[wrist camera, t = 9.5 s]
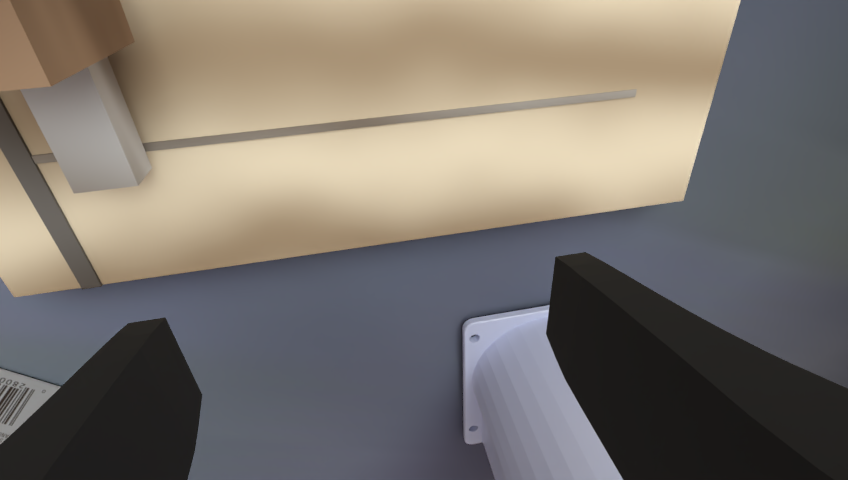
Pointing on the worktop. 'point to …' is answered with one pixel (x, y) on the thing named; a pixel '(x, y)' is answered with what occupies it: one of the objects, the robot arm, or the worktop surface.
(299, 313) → the worktop surface
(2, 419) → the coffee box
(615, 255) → the worktop surface
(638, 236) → the worktop surface
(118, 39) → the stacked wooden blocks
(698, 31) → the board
